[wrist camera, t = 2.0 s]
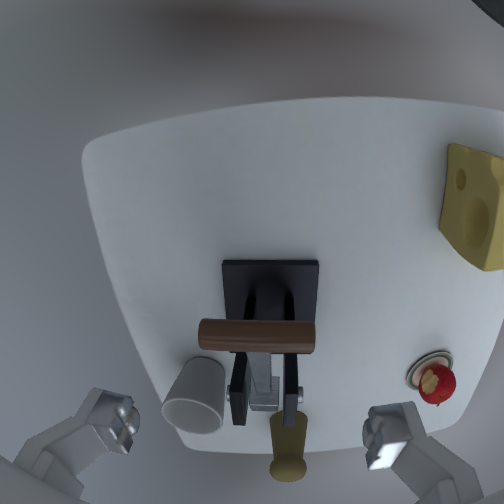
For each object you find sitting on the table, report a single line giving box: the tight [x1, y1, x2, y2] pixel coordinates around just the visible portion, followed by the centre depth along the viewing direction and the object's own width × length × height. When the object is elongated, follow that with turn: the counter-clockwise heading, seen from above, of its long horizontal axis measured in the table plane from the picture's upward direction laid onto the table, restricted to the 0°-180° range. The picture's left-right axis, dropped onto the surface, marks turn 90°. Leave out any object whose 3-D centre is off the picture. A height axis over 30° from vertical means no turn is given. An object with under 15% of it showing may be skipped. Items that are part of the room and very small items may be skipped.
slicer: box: [222, 260, 319, 427], centre depth 27 cm, size 12×10×15 cm
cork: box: [270, 411, 308, 482], centre depth 37 cm, size 6×6×11 cm
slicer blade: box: [198, 318, 315, 411], centre depth 18 cm, size 14×5×2 cm, turn 2°
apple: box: [407, 352, 456, 406], centre depth 34 cm, size 8×8×6 cm
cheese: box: [439, 144, 504, 272], centre depth 22 cm, size 10×11×10 cm
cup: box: [161, 357, 225, 435], centre depth 36 cm, size 8×10×8 cm
